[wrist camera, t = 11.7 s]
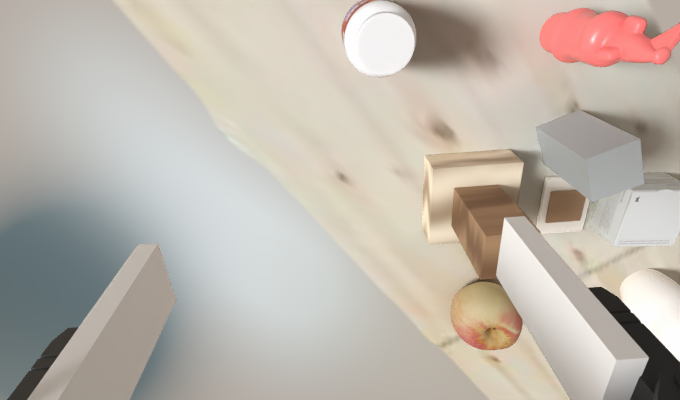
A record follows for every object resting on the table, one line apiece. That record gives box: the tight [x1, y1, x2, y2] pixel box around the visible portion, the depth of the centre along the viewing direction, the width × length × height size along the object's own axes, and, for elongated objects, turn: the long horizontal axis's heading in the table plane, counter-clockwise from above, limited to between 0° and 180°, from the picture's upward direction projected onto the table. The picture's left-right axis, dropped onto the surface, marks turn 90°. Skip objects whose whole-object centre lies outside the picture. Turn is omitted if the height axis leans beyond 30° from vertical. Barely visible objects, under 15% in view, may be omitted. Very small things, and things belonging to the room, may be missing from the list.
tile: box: [536, 176, 590, 234], centre depth 51 cm, size 8×6×1 cm
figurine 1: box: [540, 8, 680, 67], centre depth 36 cm, size 5×5×15 cm
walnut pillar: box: [451, 184, 541, 280], centre depth 42 cm, size 5×5×10 cm
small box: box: [590, 173, 680, 247], centre depth 50 cm, size 8×8×5 cm
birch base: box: [422, 149, 524, 245], centre depth 49 cm, size 10×10×4 cm
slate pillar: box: [536, 110, 644, 202], centre depth 43 cm, size 5×5×10 cm
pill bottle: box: [342, 0, 416, 78], centre depth 37 cm, size 6×6×11 cm
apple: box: [451, 282, 522, 350], centre depth 55 cm, size 9×9×8 cm
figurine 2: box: [620, 269, 680, 362], centre depth 54 cm, size 7×8×12 cm
